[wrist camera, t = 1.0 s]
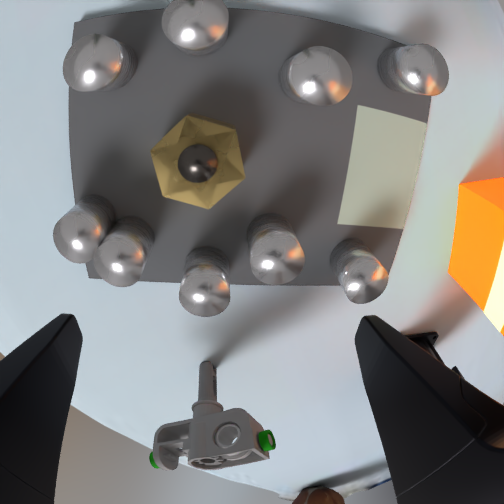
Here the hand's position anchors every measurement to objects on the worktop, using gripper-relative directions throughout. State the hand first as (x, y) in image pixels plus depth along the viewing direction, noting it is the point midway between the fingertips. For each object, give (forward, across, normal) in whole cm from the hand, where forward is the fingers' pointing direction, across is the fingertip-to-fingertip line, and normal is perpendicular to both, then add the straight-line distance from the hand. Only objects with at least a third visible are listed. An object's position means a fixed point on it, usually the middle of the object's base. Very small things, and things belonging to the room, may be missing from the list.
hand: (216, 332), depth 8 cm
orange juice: (+12, -23, +1) cm, 26 cm away
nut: (+12, +1, -2) cm, 12 cm away
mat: (+12, -2, -2) cm, 12 cm away
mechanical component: (+12, +1, +16) cm, 21 cm away
